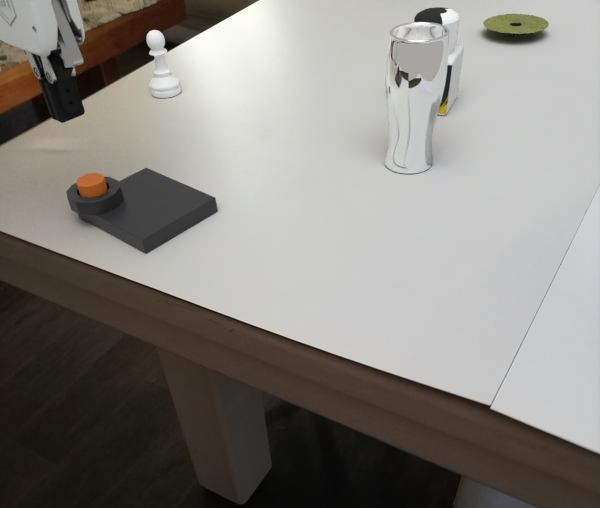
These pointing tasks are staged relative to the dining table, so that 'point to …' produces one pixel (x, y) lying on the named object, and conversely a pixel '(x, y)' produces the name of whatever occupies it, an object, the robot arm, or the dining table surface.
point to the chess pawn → (161, 68)
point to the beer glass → (414, 92)
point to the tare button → (91, 185)
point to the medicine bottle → (454, 54)
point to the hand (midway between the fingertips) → (68, 116)
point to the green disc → (516, 23)
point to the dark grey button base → (144, 208)
